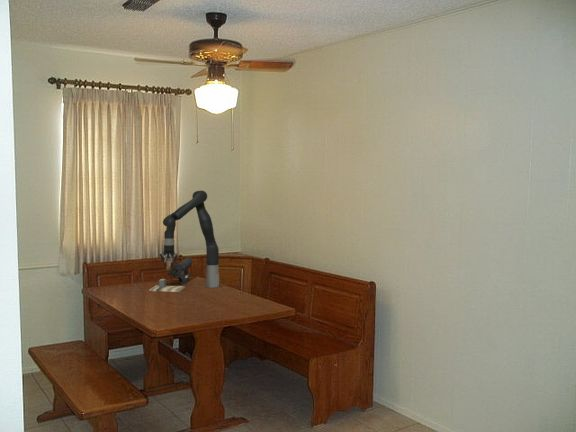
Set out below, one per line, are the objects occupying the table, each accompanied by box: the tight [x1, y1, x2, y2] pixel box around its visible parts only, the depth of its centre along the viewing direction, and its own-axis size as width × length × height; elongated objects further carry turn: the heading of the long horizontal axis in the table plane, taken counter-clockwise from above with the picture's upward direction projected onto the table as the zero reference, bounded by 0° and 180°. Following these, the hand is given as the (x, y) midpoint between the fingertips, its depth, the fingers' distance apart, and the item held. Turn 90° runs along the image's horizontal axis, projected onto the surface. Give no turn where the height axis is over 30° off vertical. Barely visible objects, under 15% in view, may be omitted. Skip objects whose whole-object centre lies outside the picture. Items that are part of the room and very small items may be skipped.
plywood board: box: [149, 284, 186, 293], centre depth 408 cm, size 23×15×1 cm, turn 86°
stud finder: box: [158, 278, 168, 288], centre depth 411 cm, size 4×6×6 cm, turn 176°
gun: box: [166, 256, 194, 285], centre depth 426 cm, size 7×28×20 cm, turn 154°
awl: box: [165, 258, 172, 272], centre depth 401 cm, size 4×4×11 cm
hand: (168, 267), depth 401 cm, fingers closed on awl, 3 cm apart
